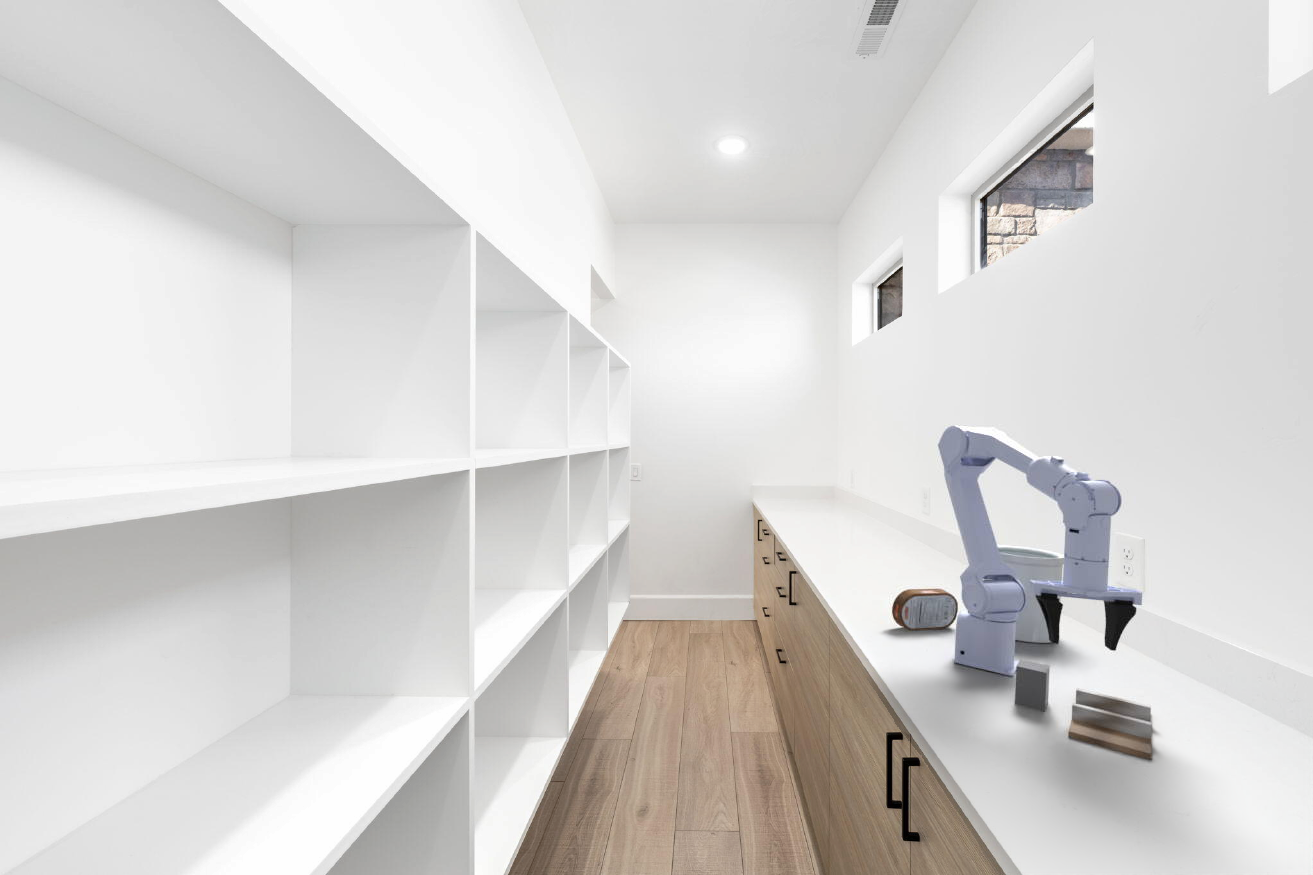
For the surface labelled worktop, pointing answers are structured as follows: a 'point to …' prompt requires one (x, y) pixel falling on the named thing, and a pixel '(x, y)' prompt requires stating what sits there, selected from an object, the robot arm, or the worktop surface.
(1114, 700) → the end holder
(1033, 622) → the utensil holder
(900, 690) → the worktop surface
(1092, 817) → the worktop surface
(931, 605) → the tin
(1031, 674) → the grey rectangular block
